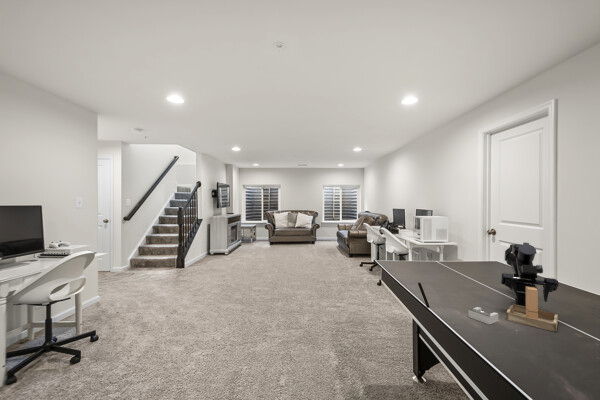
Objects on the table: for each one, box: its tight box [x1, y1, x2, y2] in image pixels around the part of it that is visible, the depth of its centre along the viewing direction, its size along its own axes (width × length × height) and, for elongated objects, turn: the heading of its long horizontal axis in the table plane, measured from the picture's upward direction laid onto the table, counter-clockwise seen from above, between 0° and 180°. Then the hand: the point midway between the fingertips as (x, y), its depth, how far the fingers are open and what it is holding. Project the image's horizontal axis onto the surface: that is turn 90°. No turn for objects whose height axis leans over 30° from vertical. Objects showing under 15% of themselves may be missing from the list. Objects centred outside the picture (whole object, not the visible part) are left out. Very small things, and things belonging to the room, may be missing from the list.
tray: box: [505, 303, 559, 333], centre depth 110 cm, size 15×15×3 cm
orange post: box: [526, 286, 539, 319], centre depth 110 cm, size 4×3×13 cm, turn 150°
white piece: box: [468, 306, 500, 325], centre depth 111 cm, size 8×8×4 cm
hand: (531, 299), depth 110 cm, fingers open, 9 cm apart
